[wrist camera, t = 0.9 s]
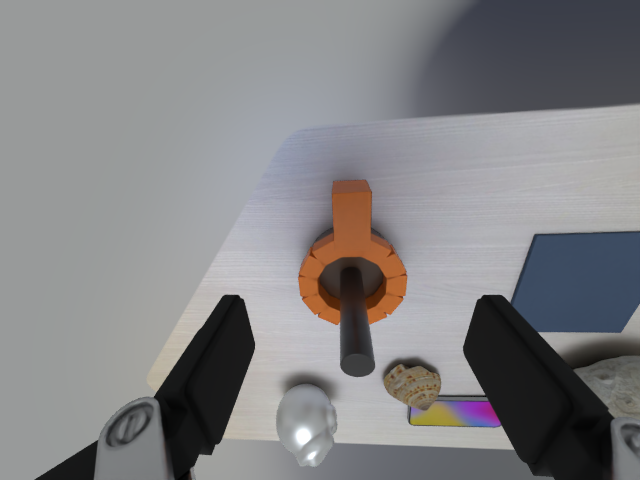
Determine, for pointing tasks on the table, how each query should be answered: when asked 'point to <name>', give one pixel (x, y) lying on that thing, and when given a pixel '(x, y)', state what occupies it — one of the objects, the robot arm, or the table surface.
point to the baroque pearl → (306, 423)
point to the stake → (353, 307)
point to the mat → (580, 282)
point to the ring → (352, 255)
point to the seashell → (413, 386)
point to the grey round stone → (615, 384)
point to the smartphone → (456, 413)
